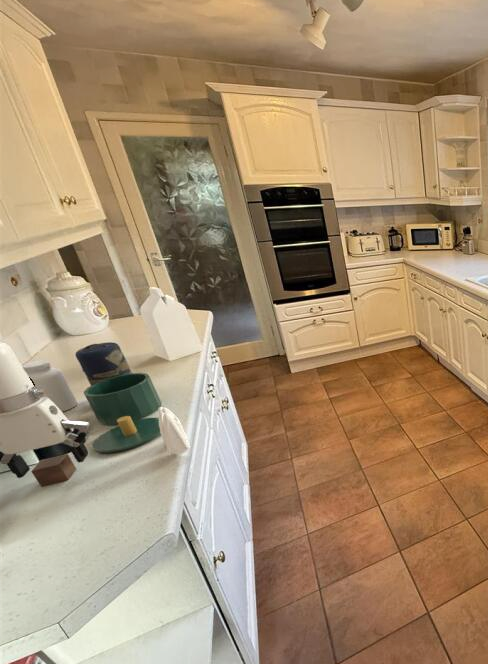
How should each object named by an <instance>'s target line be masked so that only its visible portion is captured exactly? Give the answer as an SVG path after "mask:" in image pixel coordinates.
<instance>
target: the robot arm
mask: <svg viewBox="0 0 488 664" xmlns="http://www.w3.org/2000/svg"><path fill="white" fill-rule="evenodd" d="M22 365H23V364H21V362H20V360H19V358H18V357H17V355H16V353H15V352H14V350H13V349H12V347H11V346H10V345H9V344H7V343H5V342H3V341H0V464H2V465H6V466H7V467H8V468H9V470H10V471H11V474H14V475H15V476H16V478H18V479H20V478H23V477H24V476H25V475H27V473H28V472H29V471H30V470H31V468H30V466H29V465H28V463H27V462H26V461H25V459H24V458H23V455H20V454H21V453H25V452H30V451H33V450H38V449H42V448H46V447H51V446H54V445H58V444H63V445H66V446H69V447H71V448H70V449H69V450H70V452H71V454H72V456H73V457H74V459H75V460H76V462H77V463H83V462H84V461H85V460H86V458H87V457H88V455H89V451H88V448H87V447H86V445H85V443H84V440H85V439H86V437H87V436H88V434H89V433H90V432H89V430H90V427H91V423H90V422H87V421H78V420H77V421H76V420H69V419H68V418H67V416H66V415H65V413H63V412H62V411H61V410H60V409H59V408H58V407H57V406H56V405H55V404H54V403H53V402H52V401H51V400H50V399H49V398H48V397H42V396H44V395H47V390H46V389H42V390H40V389H39V390H38V389H37V387H36V386H34V385H33V383H32V381H31V380H30V378H29V376H28V375H27V373H26V371H25V370H24V368H23V367H22ZM41 397H42V398H41ZM74 430H78V434H76V433H73V432H74ZM17 454H18V455H17Z"/></svg>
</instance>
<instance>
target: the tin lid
mask: <svg viewBox="0 0 488 664" xmlns="http://www.w3.org/2000/svg"><path fill="white" fill-rule="evenodd" d="M117 422H118V424H119V425H116V426H115V427H112V428H110V429H108V430H107V431H105V432H104V433H102V434H101V435H99V436H98V437H96V439H95V440H94V441H93V442H92V445H91V448H92V449H93V451H95V452H97V453H114V452H121V451H125V450H128V449H132V448H135V447H136V446H140V445H142V444H144V443H147V442H149V441H150V440H153V439H154V438H156V437H158V436H159V435H161V433H160V427H159V418H158V417H144V418H141V419H139V420H135V421H132V419H131V417H130V416H124V417H121V418H119V419H118V420H117Z"/></svg>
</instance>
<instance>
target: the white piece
mask: <svg viewBox="0 0 488 664" xmlns="http://www.w3.org/2000/svg"><path fill="white" fill-rule="evenodd" d="M157 418H159V427H160V436H161V439H162V441H163V443H164V446H165V448H166V451H167V453H168V454H169V455H176V456H180V455H182V454H184V453H186V452H187V451H189V450H190V448H191V446H190V443H189V440H188V437H187V434H186V432H185V430H184V428H183V425H182V423H181V421H180V419H179V418H178V416H177V415H175V414H174V413H173V412H172V411H171V410H170V409H168V408H167V407H163V406H161V407H159V409H158V410H157Z"/></svg>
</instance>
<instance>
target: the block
mask: <svg viewBox="0 0 488 664" xmlns="http://www.w3.org/2000/svg"><path fill="white" fill-rule="evenodd" d="M76 470H77V467H76V466H75V463H74V462H73V460H72V459H71V457H70V456H69V454H68V453H65V454H61V455H56V456H52V457H47V458H43V459H41V460H40V461H38V463H36V465H35V466H34V468H33V469H32V470H31V473H32V476H34V478H35V479H36V481H37V482H38V484H39V485H40V487H41V488H44V487H47V486H50V485H54V484H58V483H59V484H60V483H62V482H67V481H69V480H70V479H71V477H72V475H74V473H75V472H76Z"/></svg>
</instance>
